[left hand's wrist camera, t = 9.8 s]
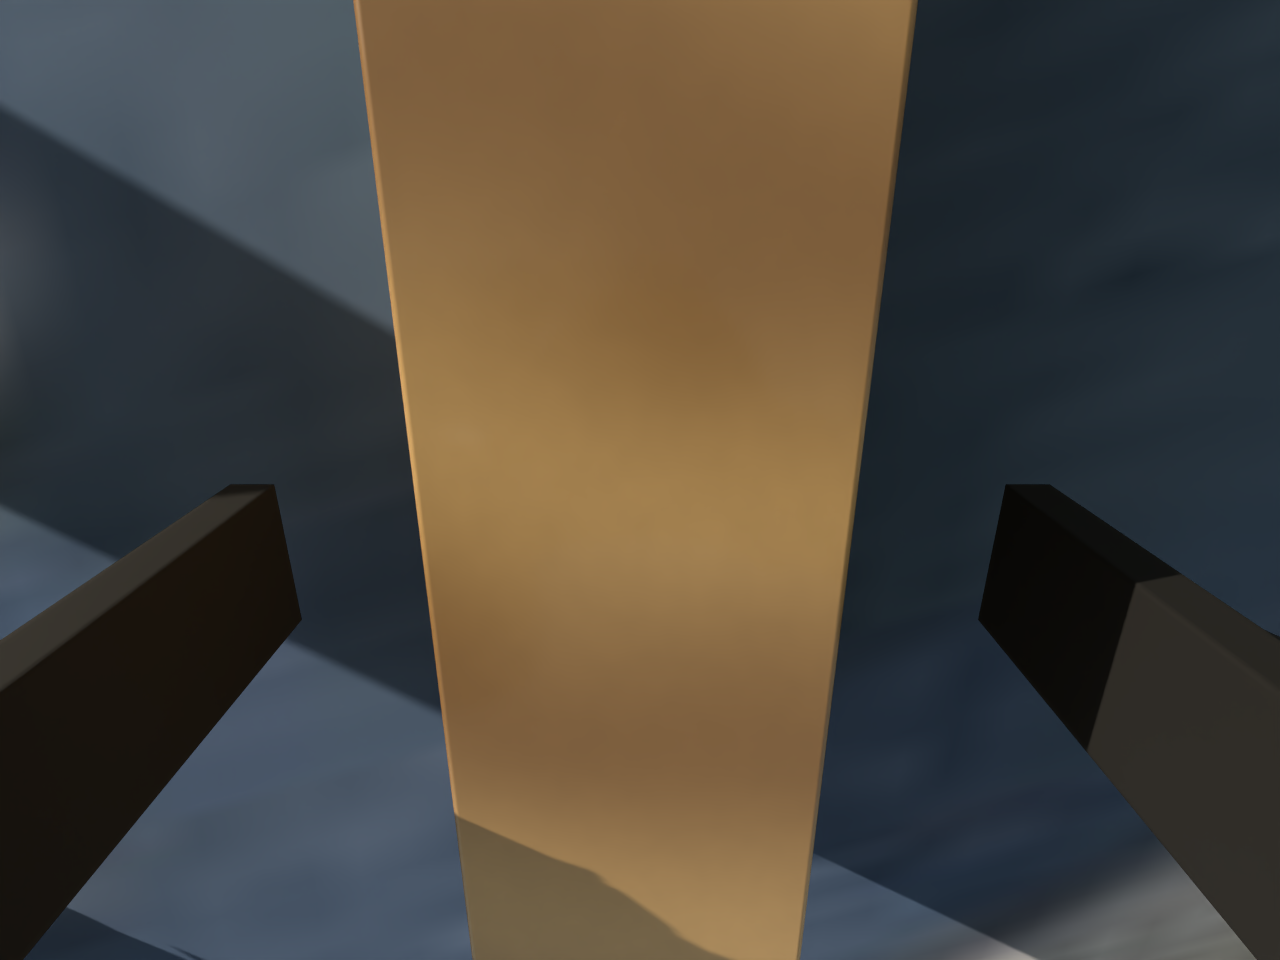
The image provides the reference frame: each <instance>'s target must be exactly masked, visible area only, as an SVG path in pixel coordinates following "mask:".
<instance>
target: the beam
mask: <svg viewBox="0 0 1280 960" xmlns="http://www.w3.org/2000/svg"><path fill="white" fill-rule="evenodd" d="M353 2H354V10H355V18H356V26H357V34H358V42H359V50H360V59H361V67H362V75H363V83H364V91H365V99H366V107H367V115H368V123H369V131H370V139H371V147H372V155H373V163H374V171H375V179H376V187H377V195H378V203H379V211H380V219H381V227H382V236H383V244H384V252H385V260H386V268H387V276H388V284H389V292H390V300H391V308H392V316H393V324H394V332H395V340H396V348H397V356H398V364H399V372H400V380H401V388H402V396H403V404H404V413H405V421H406V429H407V437H408V445H409V453H410V461H411V469H412V477H413V485H414V493H415V501H416V509H417V517H418V525H419V533H420V541H421V549H422V557H423V565H424V573H425V581H426V590H427V598H428V606H429V614H430V622H431V630H432V638H433V646H434V654H435V662H436V670H437V678H438V686H439V694H440V702H441V710H442V718H443V726H444V734H445V742H446V750H447V758H448V767H449V775H450V783H451V791H452V799H453V807H454V815H455V823H456V831H457V839H458V847H459V855H460V863H461V871H462V879H463V887H464V895H465V903H466V911H467V919H468V927H469V935H470V944H471V952H472V960H800V954H801V946H802V938H803V930H804V922H805V914H806V905H807V897H808V889H809V881H810V873H811V865H812V857H813V849H814V841H815V833H816V824H817V816H818V808H819V800H820V792H821V784H822V776H823V768H824V760H825V751H826V743H827V735H828V727H829V719H830V711H831V703H832V695H833V687H834V678H835V670H836V662H837V654H838V646H839V638H840V630H841V622H842V614H843V606H844V597H845V589H846V581H847V573H848V565H849V557H850V549H851V541H852V533H853V524H854V516H855V508H856V500H857V492H858V484H859V476H860V468H861V460H862V451H863V443H864V435H865V427H866V419H867V411H868V403H869V395H870V387H871V379H872V370H873V362H874V354H875V346H876V338H877V330H878V322H879V314H880V306H881V297H882V289H883V281H884V273H885V265H886V257H887V249H888V241H889V233H890V224H891V216H892V208H893V200H894V192H895V184H896V176H897V168H898V160H899V152H900V143H901V135H902V127H903V119H904V111H905V103H906V95H907V87H908V79H909V70H910V62H911V54H912V46H913V38H914V30H915V22H916V14H917V6H918V0H353Z"/></svg>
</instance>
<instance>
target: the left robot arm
mask: <svg viewBox="0 0 1280 960" xmlns="http://www.w3.org/2000/svg"><path fill="white" fill-rule="evenodd" d="M301 620H302V618H301V613H300V609H299V604H298V599H297V594H296V589H295V584H294V579H293V574H292V569H291V564H290V560H289V555H288V550H287V545H286V540H285V535H284V530H283V525H282V520H281V515H280V511H279V506H278V501H277V496H276V491H275V486H274V484H230V485H229V486H227V487H226V488H225V489H223V490H222V491H220V492H219V493H217V494H216V495H214V496H213V497H211V498H210V499H208V500H207V501H205V502H204V503H202V504H201V505H199V506H198V507H197V508H195V509H194V510H192V511H191V512H189V513H188V514H186V515H185V516H183V517H182V518H180V519H179V520H177V521H176V522H174V523H173V524H171V525H170V526H168V527H167V528H166V529H164V530H163V531H161V532H160V533H158V534H157V535H155V536H154V537H152V538H151V539H149V540H148V541H146V542H145V543H143V544H142V545H140V546H139V547H137V548H136V549H135V550H133V551H132V552H130V553H129V554H127V555H126V556H124V557H123V558H121V559H120V560H118V561H117V562H115V563H114V564H112V565H111V566H109V567H108V568H106V569H105V570H104V571H102V572H101V573H99V574H98V575H96V576H95V577H93V578H92V579H90V580H89V581H87V582H86V583H84V584H83V585H81V586H80V587H78V588H77V589H76V590H74V591H73V592H71V593H70V594H68V595H67V596H65V597H64V598H62V599H61V600H59V601H58V602H56V603H55V604H53V605H52V606H50V607H49V608H47V609H46V610H45V611H43V612H42V613H40V614H39V615H37V616H36V617H34V618H33V619H31V620H30V621H28V622H27V623H25V624H24V625H22V626H21V627H19V628H18V629H16V630H15V631H14V632H12V633H11V634H9V635H8V636H6V637H5V638H3V639H2V640H0V960H23V959H24V958H25V957H26V955H27V954H28V953H29V952H30V950H31V949H32V948H33V947H34V946H35V944H36V943H37V942H38V941H39V939H40V938H41V937H42V936H43V935H44V933H45V932H46V931H47V930H48V929H49V927H50V926H51V925H52V924H53V922H54V921H55V920H56V919H57V918H58V916H59V915H60V914H61V913H62V911H63V910H64V909H65V908H66V907H67V905H68V904H69V903H70V902H71V900H72V899H73V898H74V897H75V896H76V894H77V893H78V892H79V891H80V889H81V888H82V887H83V886H84V885H85V883H86V882H87V881H88V880H89V878H90V877H91V876H92V875H93V874H94V872H95V871H96V870H97V869H98V868H99V866H100V865H101V864H102V863H103V861H104V860H105V859H106V858H107V857H108V855H109V854H110V853H111V852H112V850H113V849H114V848H115V847H116V846H117V844H118V843H119V842H120V841H121V839H122V838H123V837H124V836H125V835H126V833H127V832H128V831H129V830H130V828H131V827H132V826H133V825H134V824H135V822H136V821H137V820H138V819H139V817H140V816H141V815H142V814H143V813H144V811H145V810H146V809H147V808H148V807H149V805H150V804H151V803H152V802H153V800H154V799H155V798H156V797H157V796H158V794H159V793H160V792H161V791H162V789H163V788H164V787H165V786H166V785H167V783H168V782H169V781H170V780H171V778H172V777H173V776H174V775H175V774H176V772H177V771H178V770H179V769H180V767H181V766H182V765H183V764H184V763H185V761H186V760H187V759H188V758H189V757H190V755H191V754H192V753H193V752H194V750H195V749H196V748H197V747H198V746H199V744H200V743H201V742H202V741H203V739H204V738H205V737H206V736H207V735H208V733H209V732H210V731H211V730H212V728H213V727H214V726H215V725H216V724H217V722H218V721H219V720H220V719H221V717H222V716H223V715H224V714H225V713H226V711H227V710H228V709H229V708H230V706H231V705H232V704H233V703H234V702H235V700H236V699H237V698H238V697H239V696H240V694H241V693H242V692H243V691H244V689H245V688H246V687H247V686H248V685H249V683H250V682H251V681H252V680H253V678H254V677H255V676H256V675H257V674H258V672H259V671H260V670H261V669H262V667H263V666H264V665H265V664H266V663H267V661H268V660H269V659H270V658H271V656H272V655H273V654H274V653H275V652H276V650H277V649H278V648H279V647H280V645H281V644H282V643H283V642H284V641H285V639H286V638H287V637H288V636H289V635H290V633H291V632H292V631H293V630H294V628H295V627H296V626H297V625H298V624H299V622H300V621H301ZM978 620H979V621H980V622H981V624H982V625H983V626H984V627H985V628H986V630H987V631H988V632H989V633H990V635H991V636H992V637H993V638H994V639H995V641H996V642H997V643H998V644H999V646H1000V647H1001V648H1002V649H1003V650H1004V652H1005V653H1006V654H1007V655H1008V656H1009V658H1010V659H1011V660H1012V661H1013V663H1014V664H1015V665H1016V666H1017V667H1018V669H1019V670H1020V671H1021V672H1022V674H1023V675H1024V676H1025V677H1026V678H1027V680H1028V681H1029V682H1030V683H1031V685H1032V686H1033V687H1034V688H1035V689H1036V691H1037V692H1038V693H1039V694H1040V696H1041V697H1042V698H1043V699H1044V700H1045V702H1046V703H1047V704H1048V705H1049V707H1050V708H1051V709H1052V710H1053V711H1054V713H1055V714H1056V715H1057V716H1058V717H1059V719H1060V720H1061V721H1062V722H1063V724H1064V725H1065V726H1066V727H1067V728H1068V730H1069V731H1070V732H1071V733H1072V735H1073V736H1074V737H1075V738H1076V739H1077V741H1078V742H1079V743H1080V744H1081V746H1082V747H1083V748H1084V749H1085V750H1086V752H1087V753H1088V754H1089V755H1090V757H1091V758H1092V759H1093V760H1094V761H1095V763H1096V764H1097V765H1098V766H1099V768H1100V769H1101V770H1102V771H1103V772H1104V774H1105V775H1106V776H1107V777H1108V778H1109V780H1110V781H1111V782H1112V783H1113V785H1114V786H1115V787H1116V788H1117V789H1118V791H1119V792H1120V793H1121V794H1122V796H1123V797H1124V798H1125V799H1126V800H1127V802H1128V803H1129V804H1130V805H1131V807H1132V808H1133V809H1134V810H1135V811H1136V813H1137V814H1138V815H1139V816H1140V818H1141V819H1142V820H1143V821H1144V822H1145V824H1146V825H1147V826H1148V827H1149V828H1150V830H1151V831H1152V832H1153V833H1154V835H1155V836H1156V837H1157V838H1158V839H1159V841H1160V842H1161V843H1162V844H1163V846H1164V847H1165V848H1166V849H1167V850H1168V852H1169V853H1170V854H1171V855H1172V857H1173V858H1174V859H1175V860H1176V861H1177V863H1178V864H1179V865H1180V866H1181V868H1182V869H1183V870H1184V871H1185V872H1186V874H1187V875H1188V876H1189V877H1190V879H1191V880H1192V881H1193V882H1194V883H1195V885H1196V886H1197V887H1198V888H1199V889H1200V891H1201V892H1202V893H1203V894H1204V896H1205V897H1206V898H1207V899H1208V900H1209V902H1210V903H1211V904H1212V905H1213V907H1214V908H1215V909H1216V910H1217V911H1218V913H1219V914H1220V915H1221V916H1222V918H1223V919H1224V920H1225V921H1226V922H1227V924H1228V925H1229V926H1230V927H1231V929H1232V930H1233V931H1234V932H1235V933H1236V935H1237V936H1238V937H1239V938H1240V940H1241V941H1242V942H1243V943H1244V944H1245V946H1246V947H1247V948H1248V949H1249V950H1250V952H1251V953H1252V954H1253V955H1254V957H1255V958H1256V959H1257V960H1280V637H1279V636H1277V635H1274V634H1272V633H1270V632H1268V631H1266V630H1264V629H1262V628H1261V627H1259V626H1258V625H1256V624H1255V623H1253V622H1252V621H1250V620H1249V619H1247V618H1246V617H1244V616H1243V615H1241V614H1240V613H1238V612H1237V611H1235V610H1234V609H1233V608H1231V607H1230V606H1228V605H1227V604H1225V603H1224V602H1222V601H1221V600H1219V599H1218V598H1216V597H1215V596H1213V595H1212V594H1210V593H1209V592H1207V591H1206V590H1204V589H1203V588H1202V587H1200V586H1199V585H1197V584H1196V583H1194V582H1193V581H1191V580H1190V579H1188V578H1187V577H1185V576H1184V575H1182V574H1181V573H1179V572H1178V571H1176V570H1175V569H1173V568H1172V567H1171V566H1169V565H1168V564H1166V563H1165V562H1163V561H1162V560H1160V559H1159V558H1157V557H1156V556H1154V555H1153V554H1151V553H1150V552H1148V551H1147V550H1145V549H1144V548H1142V547H1141V546H1140V545H1138V544H1137V543H1135V542H1134V541H1132V540H1131V539H1129V538H1128V537H1126V536H1125V535H1123V534H1122V533H1120V532H1119V531H1117V530H1116V529H1114V528H1113V527H1112V526H1110V525H1109V524H1107V523H1106V522H1104V521H1103V520H1101V519H1100V518H1098V517H1097V516H1095V515H1094V514H1092V513H1091V512H1089V511H1088V510H1086V509H1085V508H1083V507H1082V506H1081V505H1079V504H1078V503H1076V502H1075V501H1073V500H1072V499H1070V498H1069V497H1067V496H1066V495H1064V494H1063V493H1061V492H1060V491H1058V490H1057V489H1055V488H1054V487H1052V486H1051V485H1050V484H1006V486H1005V491H1004V496H1003V501H1002V506H1001V510H1000V515H999V520H998V525H997V530H996V535H995V540H994V545H993V550H992V555H991V559H990V564H989V569H988V574H987V579H986V584H985V589H984V594H983V599H982V604H981V608H980V613H979V618H978Z"/></svg>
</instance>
